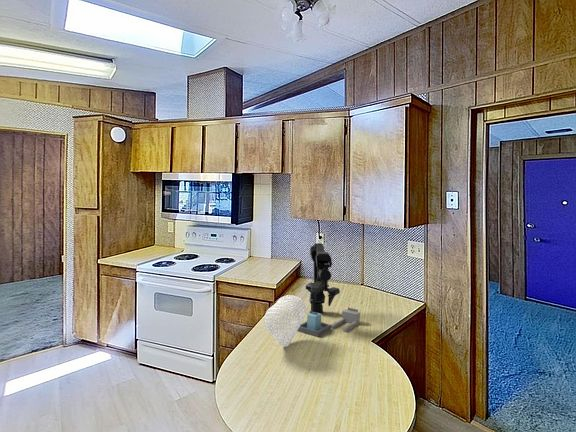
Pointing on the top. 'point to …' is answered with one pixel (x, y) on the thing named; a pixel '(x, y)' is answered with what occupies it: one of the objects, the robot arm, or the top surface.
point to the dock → (348, 319)
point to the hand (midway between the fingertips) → (322, 304)
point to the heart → (299, 320)
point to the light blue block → (314, 321)
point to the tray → (318, 333)
